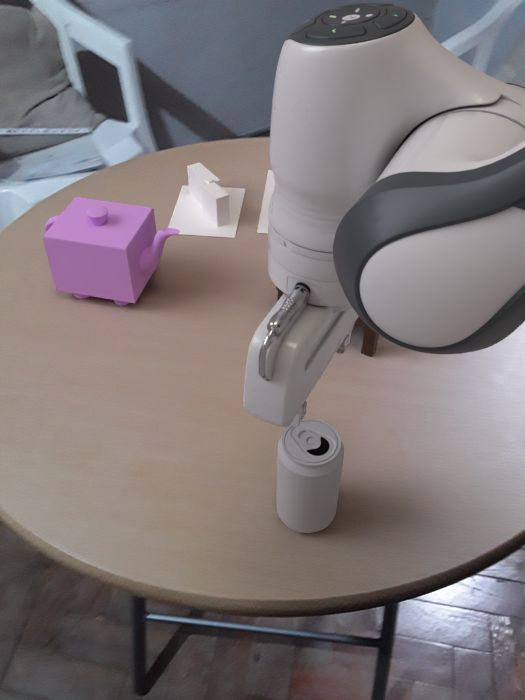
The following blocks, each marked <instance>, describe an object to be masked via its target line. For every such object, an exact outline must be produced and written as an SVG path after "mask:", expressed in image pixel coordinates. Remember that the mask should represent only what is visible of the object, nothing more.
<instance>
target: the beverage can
mask: <svg viewBox="0 0 525 700" xmlns="http://www.w3.org/2000/svg"><path fill="white" fill-rule="evenodd" d="M276 455H277V457H276V491H275V492H276V495H275V496H276V497H275V508H276V514H277V516H278V517H279V519H280V521H281V522H282V524H284V525H285V526H286V527H287V528H289V529H291V530H292V531H295V532H298V533H304V534H312V533H316V532H320V531H322V530H324V529H325V528H328V526H330V524H332V522H333V520H334V519H335V517H336V515H337V507H338V500H339V494H340V487H341V479H342V473H343V472H342V471H343V465H344V456H345V447H344V442H343V441H342V439H341V434H340V433H339V431H338V430H337V429H336V427H334V426H333V425H332V424H331V423H329V422H327V421H325V420H323V419H319V418H316V417H315V418H313V417H308V418H307V417H306V418H305V417H304V418H303V419H302V421H301V422H300V424H299V425H298V426H297V427H295V426H292V425H289V426H287V427H285V429H284V431H283V433H282V435H281V436H280V438H279V439H278V442H277V453H276Z"/></svg>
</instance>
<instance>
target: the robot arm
mask: <svg viewBox="0 0 525 700" xmlns="http://www.w3.org/2000/svg"><path fill="white" fill-rule="evenodd" d="M269 125H270V128H269V163H270V167H271V170H273V174H274V179H275V186H274V191H273V194H272V196H271V199H270V203H269V208H268V234H267V248H266V249H267V251H266V252H267V254H266V261H267V262H266V268H267V274H268V276H269V278H270V280H271V282H272V283H273V284H274V285H275V286H277V287H278V288H279V289H280V290H281V291H282V292H284V294H283V295H282V296H281V298H280V299H279V300H278V302H277V301H276V303H275V304H274V305H273V307H272V308H271V309H270V311H269V312H268V313H267V314H266V315H265V317H264V318H263V319H262V321H261V322H260V323H259V324H258V327H257V328H256V330H255V332H254V333H253V335H252V337H251V340H250V343H249V346H248V351H247V355H246V361H245V371H244V379H243V396H242V397H243V398H242V404H243V409H244V410H245V412H246V413H247V414H248V415H250V416H252V417H254V418H256V419H257V420H260V421H262V422H265V423H268V424H271V425H274V426H276V427H281V428H282V427H283V428H287V427H288V426H289V425H292V426H295V427H297V426H298V425H299V424H300V422H301V421H302V419H304V418H305V415H306V414H307V407H308V406H307V405H308V402H307V400H308V397H309V396H310V394H311V393H312V391H313V390H314V388H315V387H316V385H317V383H318V382H319V380H320V378H322V375H323V374H324V372H325V370H326V369H327V367H328V366H329V364H330V363H331V361H332V360H333V358H334V356H335V355H336V354H340V355H341V354H344V352H345V351H346V349H348V346H349V344H350V343H351V337H352V331H353V329H354V326H355V324H356V323H355V321H356V320H357V318H358V317H360V318H361V319H362V320H363V322H364V323H365V324H366V325H368V326H369V327H370V328H371V329H372V330H373V331H375V332H376V333H377V334H379V336H380V337H381V338H383V339H385V341H388V342H390V343H391V344H394V345H396V346H399V347H401V348H403V349H407V350H410V351H414V352H417V353H423V354H430V355H460V354H461V355H462V354H466V353H473V352H478V351H481V350H485V349H488V348H490V347H493V346H494V345H497V344H498V343H500V342H502V341H503V340H505V339H506V338H508V337H510V335H512V334H513V333H514V332H515V331H516V330H518V329H519V327H520V326H521V325H523V324H524V323H525V86H523V85H520V84H516V83H512V82H506V81H502V80H500V79H497V78H495V77H493V76H491V75H489V74H487V73H486V72H484V71H482V70H479V69H477V68H476V67H474V66H473V65H471V64H469V63H468V62H466V61H464V60H463V59H461V57H460V58H459V57H458V56H457V55H455V54H454V53H452V52H451V51H450V50H448V49H447V48H446V47H445V46H443V45H442V44H441V43H440V42H439V41H438V40H437V39H436V38H435V37H434V36H433V35H432V34H431V33H430V31H429V30H428V29H427V27H426V25H425V24H424V23H423V21H422V19H421V18H420V17H419V16H418V15H417V14H416V13H415V12H413V11H412V10H410V9H408V8H407V7H402V6H398V5H396V4H395V5H394V4H393V3H388V2H359V3H358V2H357V3H350V4H344V5H340V6H338V7H334V8H330V9H326V10H323V11H321V12H319V13H317V14H315V15H313V16H312V17H310V18H309V19H307V20H305V21H304V22H303V23H301V24H300V25H299V26H298V27H296V28H295V29H294V30H293V31H292V32H291V33H290V34H289V36H288V37H287V38H286V39H285V41H284V42H283V45H282V48H281V50H280V54H279V57H278V61H277V65H276V71H275V76H274V83H273V91H272V101H271V114H270V124H269Z"/></svg>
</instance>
